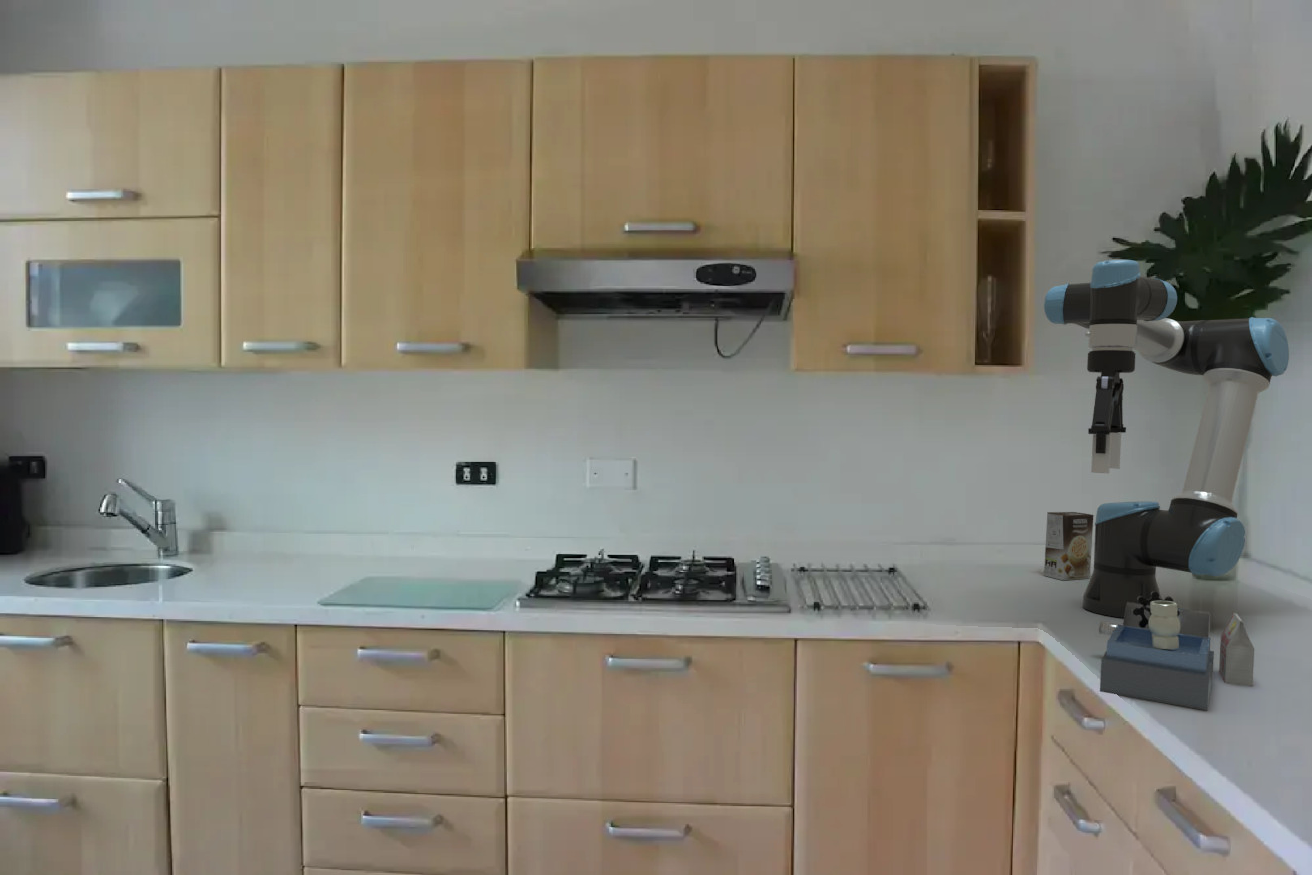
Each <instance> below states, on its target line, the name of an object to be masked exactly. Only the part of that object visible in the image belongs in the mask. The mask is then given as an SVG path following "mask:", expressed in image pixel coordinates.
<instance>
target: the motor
mask: <svg viewBox="0 0 1312 875" xmlns="http://www.w3.org/2000/svg"><path fill="white" fill-rule="evenodd" d="M1146 606H1147V607H1149V608H1150V605H1146ZM1140 607H1141V604H1140V603H1132V602H1127V604H1126V608H1125V614H1124V618H1123V623H1122V624H1118V623H1111V622H1104V621H1099V626H1098V627H1099V628H1098V634H1100V635H1107V636H1110V637H1109V638H1108V640H1107V642H1106V651H1105V653H1104V654H1103V656H1102V657H1101V659H1100V662H1101V663H1100V677H1099V678H1100V680H1099V681H1100V682H1099V692H1102V693H1106V694H1113V695H1118V696H1124V697H1129V698H1135V699H1138V700H1139V699H1140V700H1146V701H1152V702H1156V703H1157V702H1158V703H1162V704H1167V705H1168V704H1169V705H1174V706H1179V707H1185V708H1188V709H1195V710H1200V711H1201V710H1202V711H1208V708H1209V702H1210V696H1211V693H1212V692H1211V691H1212V686H1213V675H1214V659H1215V657H1214V656H1215V651H1213V650H1211V640H1212V639H1211V637H1210V635H1211V612H1209V611H1200V610H1192V609H1185V608H1178V607H1177V610H1178V611H1179V612H1180V615H1179V616H1177V617H1178V619H1179V621H1180V626H1181V627H1180V632H1179V634H1178V635H1177V636H1178V639H1179V648H1177V649H1159V648H1155V647H1153V645H1152V633H1151V631H1150V629H1149V624H1147V625H1146V627H1145V628H1141V627H1140V626H1139V624H1138V622H1139V621H1140V620H1142V617H1141V615H1137V616H1136V615H1134V614H1133V612H1132V610H1133V608H1140ZM1150 609H1151V608H1150ZM1144 615H1145V617H1146V618H1147V619H1148V620H1149V618H1150V614H1149V612H1148V611H1147V610H1145V609H1144Z"/></svg>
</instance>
